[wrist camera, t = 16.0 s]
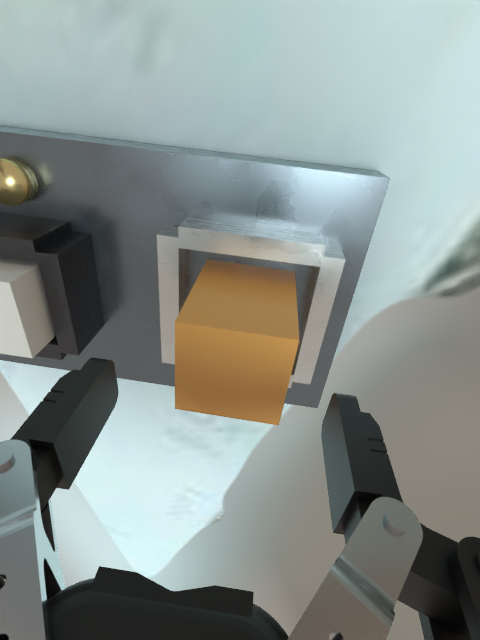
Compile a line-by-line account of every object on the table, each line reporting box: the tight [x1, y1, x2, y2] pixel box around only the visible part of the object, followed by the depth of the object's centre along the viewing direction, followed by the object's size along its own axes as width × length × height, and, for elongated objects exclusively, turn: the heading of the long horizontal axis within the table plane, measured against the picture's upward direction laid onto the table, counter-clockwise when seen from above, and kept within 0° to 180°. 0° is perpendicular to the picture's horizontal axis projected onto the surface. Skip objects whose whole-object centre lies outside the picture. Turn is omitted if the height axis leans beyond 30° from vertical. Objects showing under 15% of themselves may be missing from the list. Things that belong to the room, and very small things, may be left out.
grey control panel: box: [0, 126, 390, 408], centre depth 18 cm, size 22×14×5 cm, turn 84°
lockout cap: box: [175, 259, 299, 425], centre depth 16 cm, size 4×4×6 cm
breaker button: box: [0, 257, 56, 358], centre depth 17 cm, size 4×4×4 cm
